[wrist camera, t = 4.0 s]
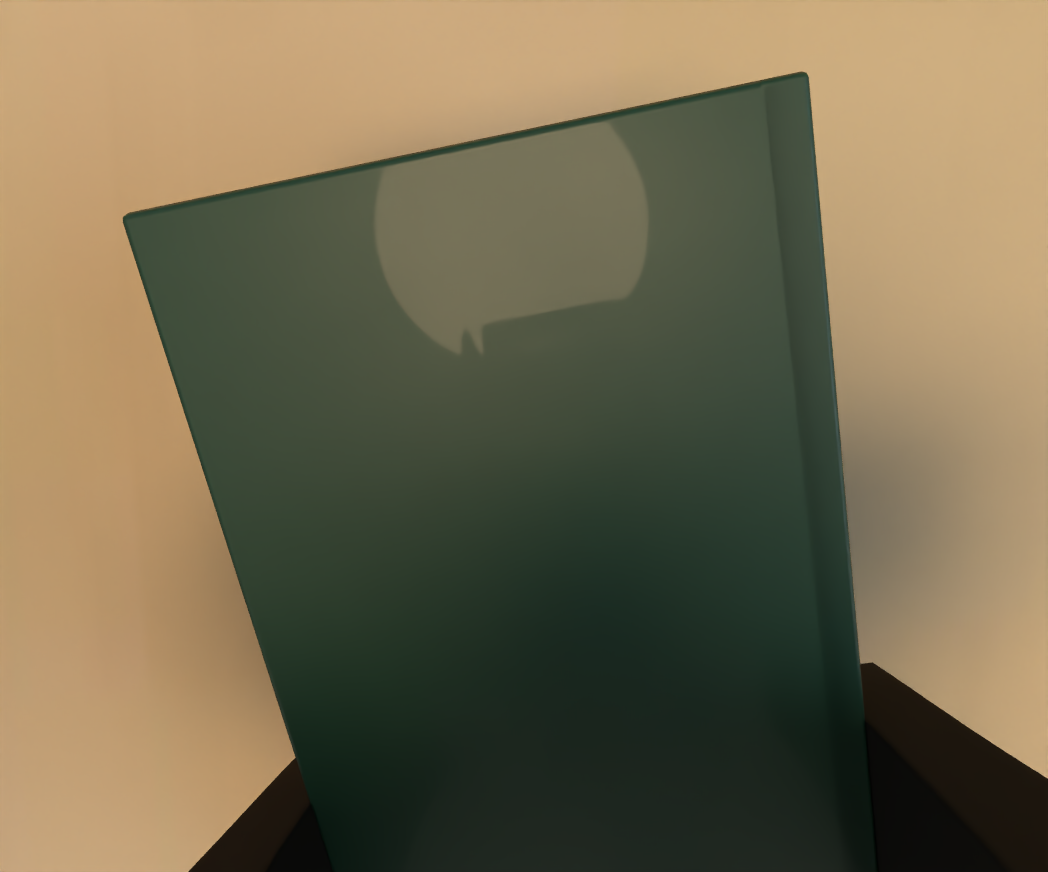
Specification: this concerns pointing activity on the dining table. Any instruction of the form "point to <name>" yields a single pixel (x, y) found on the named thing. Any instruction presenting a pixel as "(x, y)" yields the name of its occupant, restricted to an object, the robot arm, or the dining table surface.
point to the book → (540, 489)
